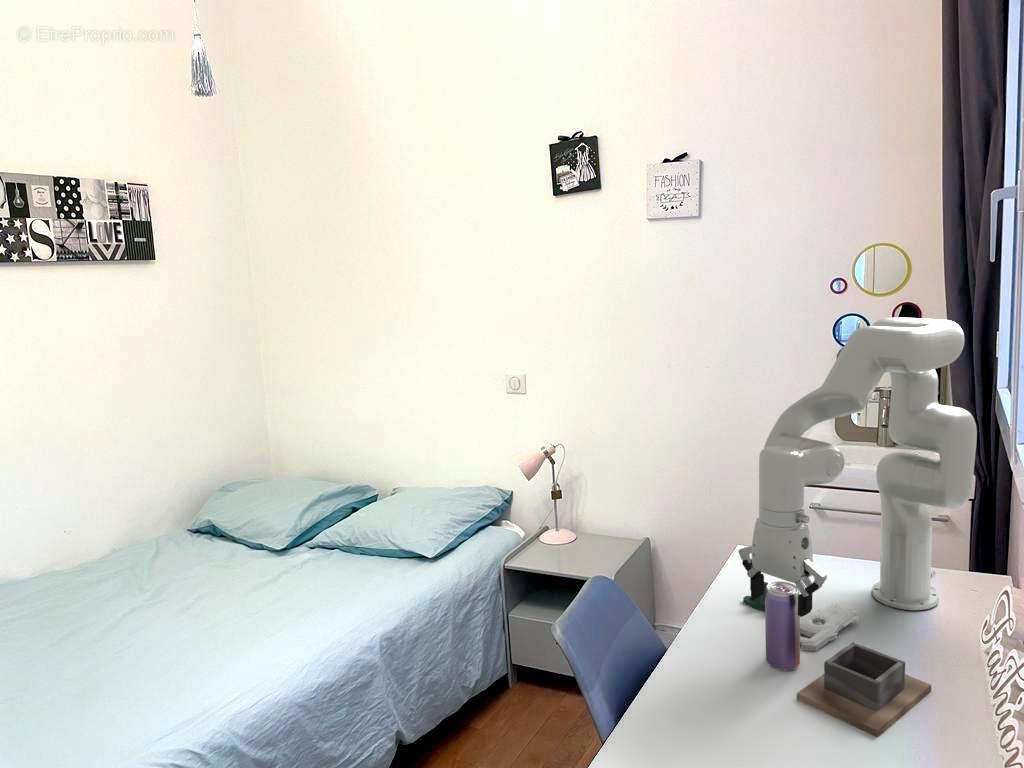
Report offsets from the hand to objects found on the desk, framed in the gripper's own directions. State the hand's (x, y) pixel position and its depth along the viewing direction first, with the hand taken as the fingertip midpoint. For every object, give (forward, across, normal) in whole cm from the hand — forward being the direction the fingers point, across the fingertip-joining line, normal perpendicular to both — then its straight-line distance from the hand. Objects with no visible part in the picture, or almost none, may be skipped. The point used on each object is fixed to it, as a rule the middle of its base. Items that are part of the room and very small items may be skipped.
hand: (780, 605), depth 140 cm
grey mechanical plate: (+12, +2, -15) cm, 20 cm away
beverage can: (+12, 0, -1) cm, 12 cm away
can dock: (+12, -15, -2) cm, 19 cm away
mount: (+12, +14, -18) cm, 26 cm away
